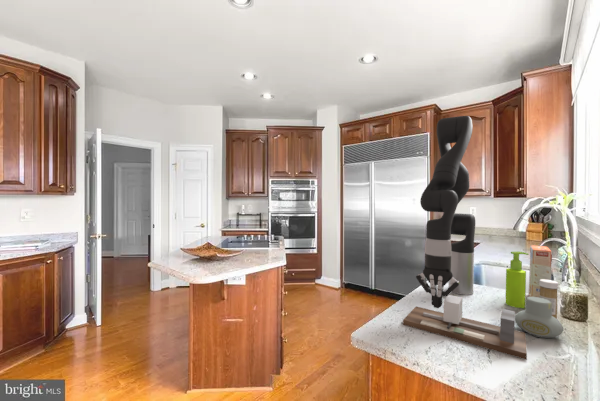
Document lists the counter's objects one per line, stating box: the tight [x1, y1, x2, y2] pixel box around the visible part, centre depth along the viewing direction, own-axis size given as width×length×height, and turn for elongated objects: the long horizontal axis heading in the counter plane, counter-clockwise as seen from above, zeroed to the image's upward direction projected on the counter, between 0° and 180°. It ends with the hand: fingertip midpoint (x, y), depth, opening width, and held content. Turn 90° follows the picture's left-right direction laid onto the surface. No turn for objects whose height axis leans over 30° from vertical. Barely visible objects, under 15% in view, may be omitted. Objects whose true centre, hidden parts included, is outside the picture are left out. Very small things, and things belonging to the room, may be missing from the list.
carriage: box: [443, 294, 464, 329], centre depth 85 cm, size 11×4×6 cm, turn 142°
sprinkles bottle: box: [539, 279, 559, 320], centre depth 91 cm, size 5×5×14 cm
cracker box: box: [528, 244, 553, 298], centre depth 110 cm, size 14×6×21 cm, turn 143°
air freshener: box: [515, 296, 564, 339], centre depth 83 cm, size 11×8×10 cm
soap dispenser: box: [505, 251, 529, 309], centre depth 105 cm, size 6×7×20 cm
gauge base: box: [402, 306, 528, 360], centre depth 84 cm, size 14×30×8 cm, turn 52°
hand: (436, 307), depth 89 cm, fingers closed
